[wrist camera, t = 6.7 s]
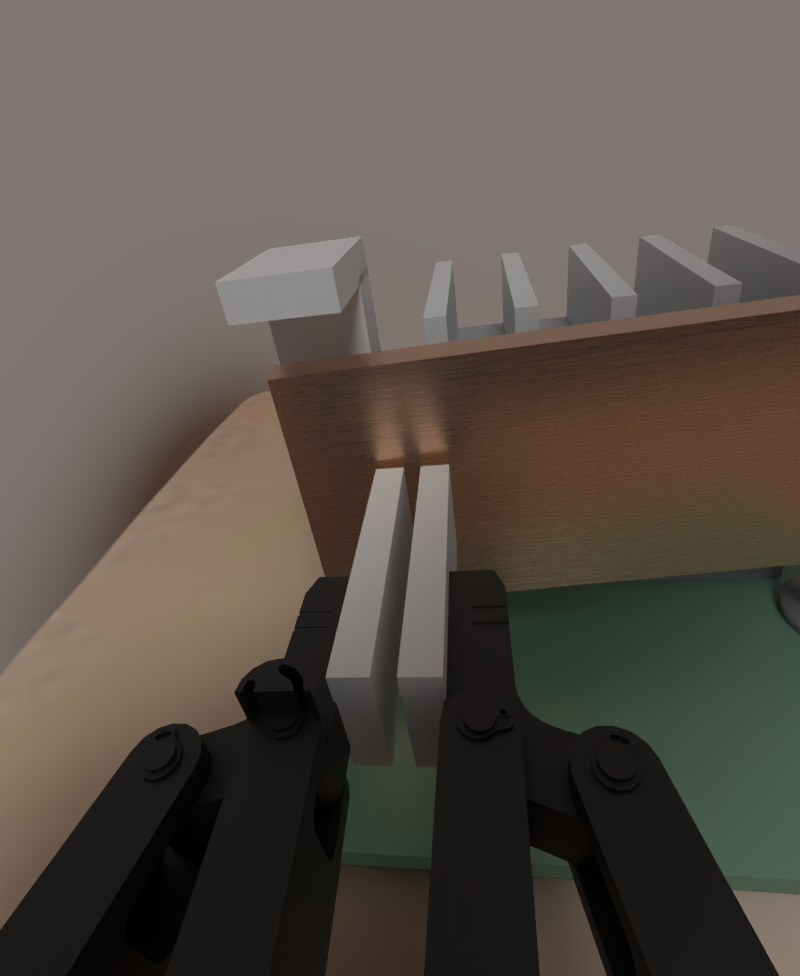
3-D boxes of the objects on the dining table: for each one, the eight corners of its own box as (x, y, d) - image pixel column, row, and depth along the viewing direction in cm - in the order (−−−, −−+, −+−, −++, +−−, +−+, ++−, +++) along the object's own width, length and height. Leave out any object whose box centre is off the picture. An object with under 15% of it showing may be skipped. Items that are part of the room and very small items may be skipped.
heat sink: (756, 464, 27) (846, 133, 19) (1140, 916, 12) (2382, 166, 4) (377, 485, 31) (323, 210, 23) (282, 860, 15) (7, 397, 7)
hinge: (860, 573, 19) (1038, 187, 12) (914, 626, 17) (1163, 198, 10) (352, 620, 20) (265, 299, 14) (347, 674, 18) (241, 328, 12)
